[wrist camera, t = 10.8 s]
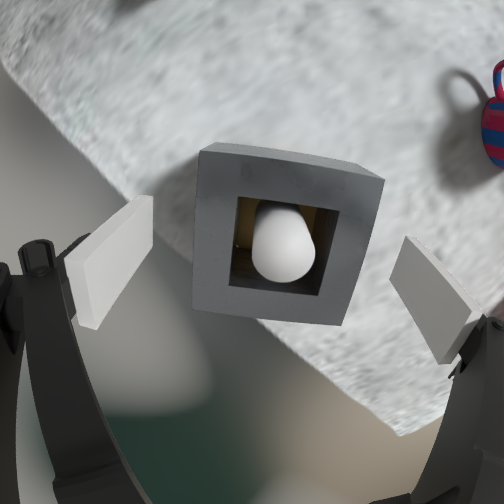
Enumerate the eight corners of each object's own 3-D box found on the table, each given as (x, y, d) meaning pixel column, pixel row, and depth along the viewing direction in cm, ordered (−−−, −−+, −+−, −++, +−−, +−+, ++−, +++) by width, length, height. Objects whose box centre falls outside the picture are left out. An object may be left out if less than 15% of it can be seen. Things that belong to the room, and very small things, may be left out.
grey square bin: (216, 142, 17) (199, 150, 13) (355, 163, 18) (385, 179, 13) (205, 268, 21) (191, 309, 17) (326, 283, 21) (340, 325, 17)
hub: (211, 181, 20) (185, 215, 13) (307, 145, 19) (332, 160, 12) (249, 264, 23) (243, 328, 16) (336, 235, 21) (366, 289, 15)
